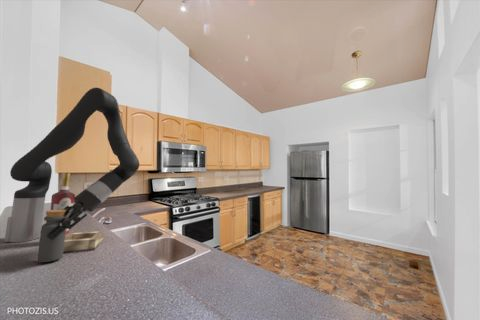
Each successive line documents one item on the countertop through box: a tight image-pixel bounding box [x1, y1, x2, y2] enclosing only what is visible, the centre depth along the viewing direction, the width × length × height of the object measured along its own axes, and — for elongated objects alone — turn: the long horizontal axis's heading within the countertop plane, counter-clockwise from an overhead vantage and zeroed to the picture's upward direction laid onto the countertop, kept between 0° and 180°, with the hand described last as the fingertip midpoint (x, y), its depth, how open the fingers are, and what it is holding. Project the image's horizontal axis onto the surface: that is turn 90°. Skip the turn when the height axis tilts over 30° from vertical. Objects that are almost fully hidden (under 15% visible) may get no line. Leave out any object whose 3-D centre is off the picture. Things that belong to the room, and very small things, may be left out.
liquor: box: [50, 172, 76, 235], centre depth 81 cm, size 7×7×28 cm
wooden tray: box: [63, 230, 105, 254], centre depth 75 cm, size 12×12×4 cm
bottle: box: [37, 209, 66, 263], centre depth 62 cm, size 6×6×15 cm
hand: (45, 236), depth 61 cm, fingers closed on bottle, 6 cm apart
